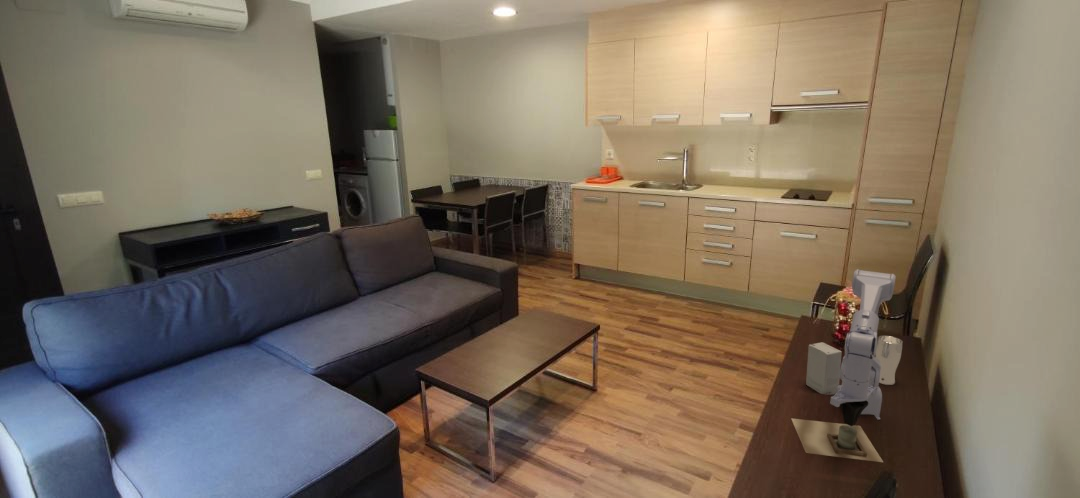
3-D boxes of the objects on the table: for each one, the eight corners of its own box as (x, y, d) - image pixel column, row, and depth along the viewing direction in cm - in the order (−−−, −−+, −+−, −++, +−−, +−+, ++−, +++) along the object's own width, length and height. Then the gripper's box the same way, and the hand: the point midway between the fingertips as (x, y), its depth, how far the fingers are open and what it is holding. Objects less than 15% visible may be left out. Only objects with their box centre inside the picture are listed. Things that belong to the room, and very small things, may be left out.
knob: (845, 440, 133) (848, 423, 132) (858, 449, 129) (861, 432, 128) (833, 442, 132) (835, 425, 131) (845, 452, 128) (848, 434, 127)
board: (859, 429, 139) (860, 422, 139) (883, 466, 124) (884, 458, 124) (790, 421, 144) (791, 415, 143) (805, 456, 129) (806, 449, 128)
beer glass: (874, 383, 163) (880, 342, 160) (869, 374, 170) (875, 334, 166) (899, 387, 161) (906, 345, 157) (893, 377, 167) (900, 336, 163)
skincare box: (838, 394, 158) (844, 352, 154) (822, 396, 156) (828, 354, 153) (818, 381, 166) (823, 341, 162) (803, 383, 164) (808, 343, 161)
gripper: (859, 364, 132) (853, 409, 135) (822, 376, 126) (816, 422, 130) (886, 376, 125) (879, 423, 129) (848, 388, 120) (841, 437, 123)
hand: (849, 423), depth 129 cm, fingers closed
